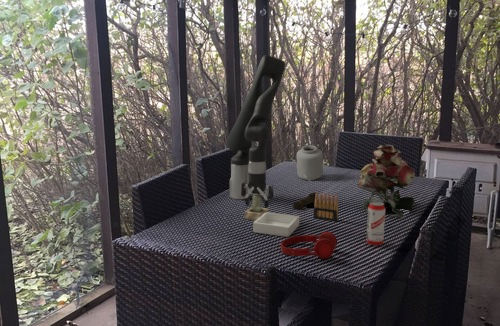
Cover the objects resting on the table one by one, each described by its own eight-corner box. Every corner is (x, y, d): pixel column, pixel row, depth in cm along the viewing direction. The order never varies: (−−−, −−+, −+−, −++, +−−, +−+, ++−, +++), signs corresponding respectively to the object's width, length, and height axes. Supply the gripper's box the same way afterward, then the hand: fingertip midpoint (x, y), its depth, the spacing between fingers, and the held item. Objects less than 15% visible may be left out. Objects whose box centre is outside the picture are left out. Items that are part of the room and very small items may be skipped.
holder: (244, 218, 217) (244, 212, 217) (251, 212, 225) (251, 206, 224) (262, 221, 214) (262, 214, 213) (269, 215, 222) (269, 208, 221)
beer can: (364, 241, 191) (366, 201, 188) (379, 240, 192) (382, 200, 188) (369, 247, 185) (371, 206, 182) (385, 246, 186) (388, 205, 182)
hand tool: (299, 210, 229) (300, 201, 228) (292, 209, 231) (292, 199, 230) (321, 201, 243) (321, 192, 242) (314, 200, 246) (314, 191, 245)
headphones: (339, 246, 185) (288, 247, 192) (337, 228, 184) (285, 229, 190) (333, 262, 171) (277, 262, 178) (330, 242, 170) (275, 243, 177)
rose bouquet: (416, 202, 241) (420, 141, 234) (408, 220, 215) (412, 152, 209) (363, 196, 251) (366, 137, 245) (349, 212, 225) (352, 147, 219)
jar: (316, 183, 275) (317, 139, 270) (291, 181, 281) (292, 137, 275) (325, 176, 292) (327, 134, 287) (301, 174, 298) (302, 132, 292)
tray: (253, 232, 201) (253, 222, 200) (265, 220, 214) (265, 211, 213) (288, 237, 195) (288, 227, 194) (299, 225, 209) (299, 216, 208)
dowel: (251, 217, 218) (251, 195, 216) (254, 215, 222) (254, 193, 220) (259, 218, 217) (259, 196, 215) (262, 216, 221) (262, 194, 218)
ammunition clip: (338, 220, 215) (339, 194, 212) (336, 221, 213) (337, 195, 210) (314, 217, 219) (315, 190, 217) (313, 218, 218) (314, 191, 215)
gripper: (238, 171, 214) (238, 207, 218) (269, 174, 209) (269, 211, 213) (245, 167, 221) (245, 202, 225) (275, 170, 216) (275, 206, 219)
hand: (257, 206), depth 219 cm, fingers open, 8 cm apart
